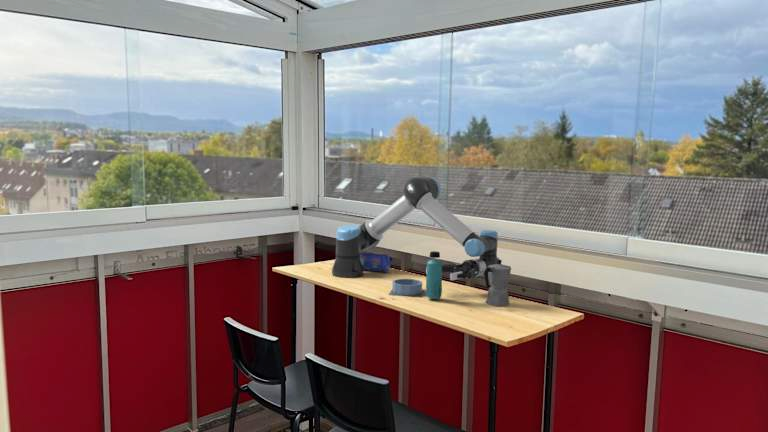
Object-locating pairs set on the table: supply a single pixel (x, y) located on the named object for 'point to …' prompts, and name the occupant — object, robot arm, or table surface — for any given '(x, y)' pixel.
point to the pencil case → (375, 262)
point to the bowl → (407, 287)
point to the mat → (408, 296)
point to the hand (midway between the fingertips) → (438, 273)
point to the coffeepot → (497, 284)
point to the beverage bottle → (434, 276)
